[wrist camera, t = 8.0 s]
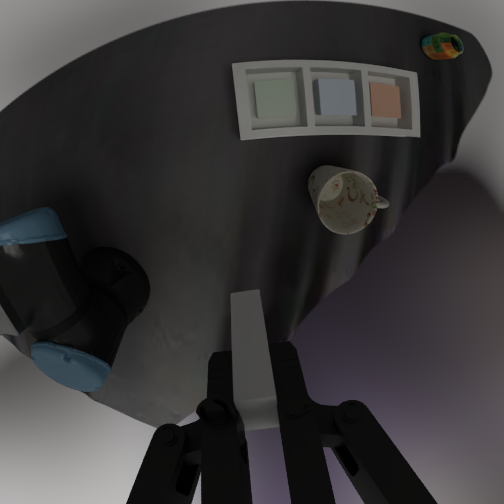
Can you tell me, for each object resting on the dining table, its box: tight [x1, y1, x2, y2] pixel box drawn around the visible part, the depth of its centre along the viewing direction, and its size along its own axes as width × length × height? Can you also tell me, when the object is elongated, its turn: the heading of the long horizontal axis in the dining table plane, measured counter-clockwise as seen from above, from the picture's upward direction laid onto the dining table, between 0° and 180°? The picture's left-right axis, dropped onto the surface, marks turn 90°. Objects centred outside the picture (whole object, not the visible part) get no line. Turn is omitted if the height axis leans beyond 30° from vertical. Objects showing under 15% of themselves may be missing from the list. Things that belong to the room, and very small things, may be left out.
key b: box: [313, 78, 357, 115], centre depth 31 cm, size 5×5×2 cm
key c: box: [369, 83, 401, 119], centre depth 32 cm, size 5×5×2 cm
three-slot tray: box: [232, 60, 420, 140], centre depth 32 cm, size 26×11×6 cm, turn 96°
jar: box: [422, 33, 464, 60], centre depth 25 cm, size 5×5×8 cm
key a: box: [253, 80, 296, 118], centre depth 32 cm, size 5×5×2 cm
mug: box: [308, 165, 389, 234], centre depth 36 cm, size 8×13×10 cm, turn 87°
